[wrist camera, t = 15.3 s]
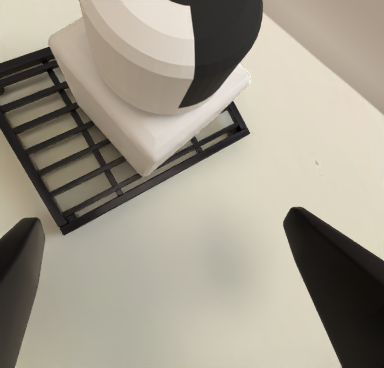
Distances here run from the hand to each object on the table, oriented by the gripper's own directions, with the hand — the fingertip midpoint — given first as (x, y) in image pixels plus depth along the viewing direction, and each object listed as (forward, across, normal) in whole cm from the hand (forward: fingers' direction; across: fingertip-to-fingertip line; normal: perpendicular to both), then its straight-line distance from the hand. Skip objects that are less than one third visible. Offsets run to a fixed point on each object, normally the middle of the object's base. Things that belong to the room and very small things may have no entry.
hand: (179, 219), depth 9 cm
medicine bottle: (+12, 0, +2) cm, 12 cm away
